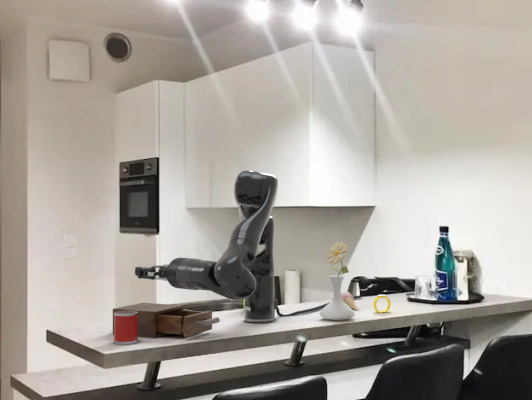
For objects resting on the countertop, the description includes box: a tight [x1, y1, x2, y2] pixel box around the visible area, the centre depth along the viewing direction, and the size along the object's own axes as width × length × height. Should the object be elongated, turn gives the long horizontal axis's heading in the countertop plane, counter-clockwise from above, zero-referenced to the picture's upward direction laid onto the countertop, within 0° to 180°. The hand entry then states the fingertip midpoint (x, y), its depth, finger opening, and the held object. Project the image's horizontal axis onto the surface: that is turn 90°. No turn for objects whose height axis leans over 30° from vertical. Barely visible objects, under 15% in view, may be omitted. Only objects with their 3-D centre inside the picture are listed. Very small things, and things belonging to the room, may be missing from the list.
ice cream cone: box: [341, 290, 358, 311], centre depth 253 cm, size 5×5×15 cm
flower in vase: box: [319, 241, 356, 321], centre depth 226 cm, size 13×11×25 cm
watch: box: [373, 294, 392, 314], centre depth 241 cm, size 6×3×6 cm, turn 115°
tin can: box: [113, 311, 139, 345], centre depth 189 cm, size 6×6×8 cm
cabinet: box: [112, 302, 185, 339], centre depth 204 cm, size 15×14×7 cm
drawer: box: [156, 309, 221, 338], centre depth 199 cm, size 18×12×5 cm
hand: (150, 270), depth 182 cm, fingers open, 8 cm apart
